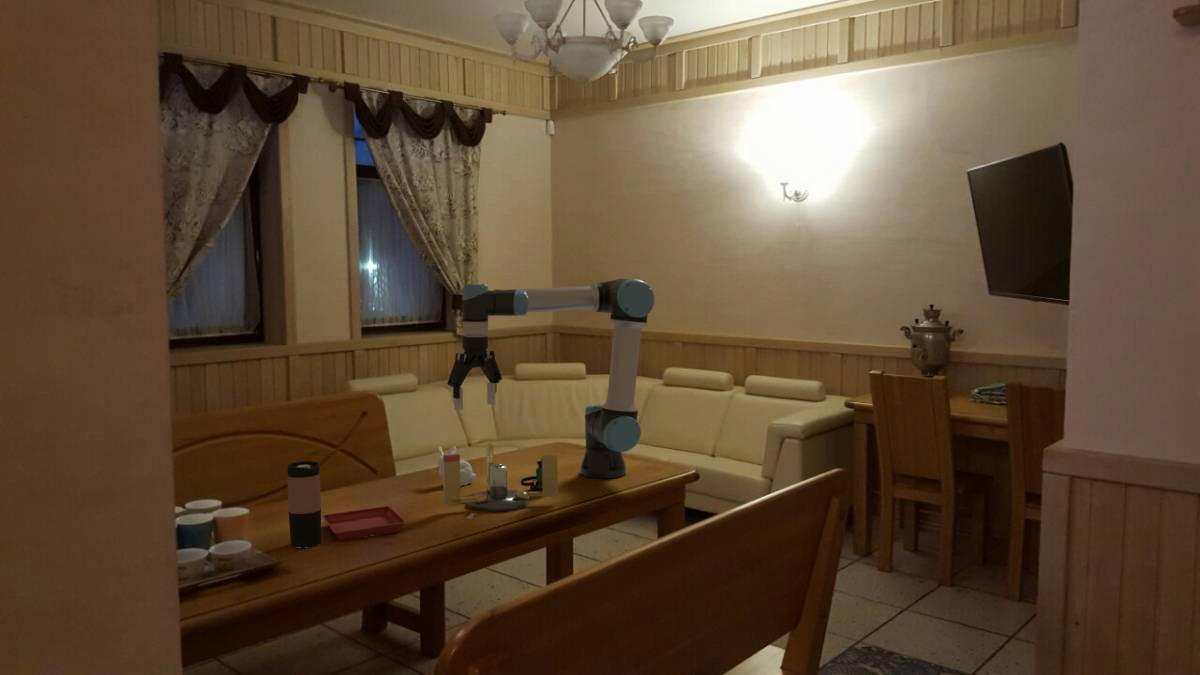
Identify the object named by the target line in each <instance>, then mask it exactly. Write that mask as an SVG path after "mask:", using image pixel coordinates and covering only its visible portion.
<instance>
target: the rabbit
mask: <svg viewBox="0 0 1200 675" xmlns="http://www.w3.org/2000/svg"><path fill="white" fill-rule="evenodd" d="M437 450H438V453H439V457H438V462H437V467H438V468H439V469H438V474H439V476H440V477H441V479H443V455H453V454H457V446H455V445H453V446H452V447H451V448H450V449H449V450H448V451H447V453H446V454H445V453H444V451H443V448H442V447H441V446H439V447H438V448H437ZM476 477H477V474H476V473H474V472H473V467H472V465H471V464H470V463H469V462H468V461H466V460H463V459H460V487H463V485H464V486H467V485H468V484H470V483H472V482H474V481H475V480H476ZM442 486H444V483H443V484H442Z"/></svg>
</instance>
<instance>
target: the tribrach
mask: <svg viewBox="0 0 1200 675" xmlns="http://www.w3.org/2000/svg"><path fill="white" fill-rule="evenodd" d="M485 446H486V482H487V486H486V490H484V491H480V492H477V493H474V494H471V495H470V496H469V497H471V496H474V495H476V494H486V495H488V501H487V502H485V503H474V502H473V501H471V502H468V503H469V505H470V506H469V505H468V506H469V507H470V508H471V509H472V508H473V509H472V510H475V511H479V512H486V511H488V512H489V513H500V512H499V511H504V512H511V511H510V510H512V511H517V510H520V508H521V509H524V508H526V507H527V506H528V505H529V500H530V497H542V498H550V497H551V498H552V497H554V498H555V497H558V496H559V492H558V491H559V489H558V488H559V482H558V480H559V478H558V453H550V454H548V453H546V454H541V458H542V491H539V490H538V492H528V491H526V490H516V489H515V490H513V489H508V465H505V464H503V463H494V460H495V459H494V458H495V457H494V453H495V452H494V445H493V444H492V443H486V445H485ZM516 509H517V510H516ZM488 512H487V513H488ZM474 515H475V516H476V515H477V513H476V512H471V513H470V514H469V515H468V516H466V518H467V519H466V520H471V519H473V516H474ZM475 516H474V517H475ZM468 518H469V519H468Z"/></svg>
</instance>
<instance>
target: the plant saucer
mask: <svg viewBox="0 0 1200 675" xmlns="http://www.w3.org/2000/svg"><path fill="white" fill-rule="evenodd" d="M321 518H322V519H323V520H324V522H325V523H326V524H327V526H328V527H329V529H330V530H331V532H332V533H333V534H334V536H335V537H336V538H337V539H338V540H339V541H346V540H345V539H349V540H352V539H351V538H356V539H359V538H358V537H362V538H366V537H365V536H369V537H372V536H371V535H376V536H379V535H378V534H383V535H386V534H385V533H390V534H394V533H393V532H396V533H398V531H400V530H401V529H402V527H403V526H404V525H405V524H406V520H404V518H402V517H401V516H400V515H399V514H398V513H397V512H396V511H395V510H394V509H393V508H392V507H391V506H390V505H384V506H379V507H378V506H377V507H371V508H365V509H363V508H362V509H356V510H349V511H342V512H335V513H328V514H324V515H321Z"/></svg>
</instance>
